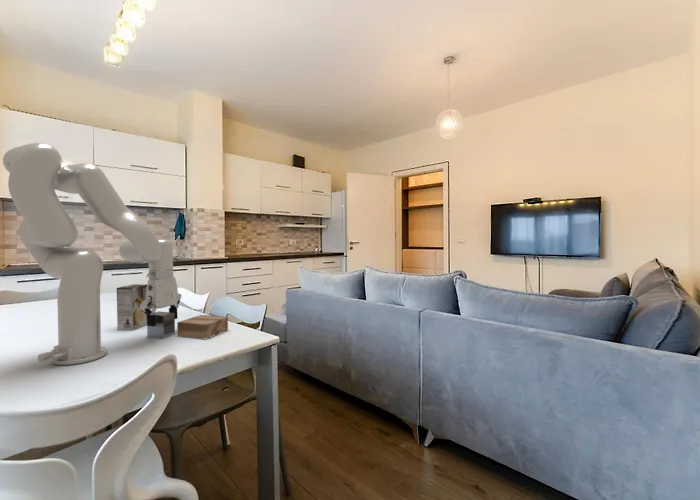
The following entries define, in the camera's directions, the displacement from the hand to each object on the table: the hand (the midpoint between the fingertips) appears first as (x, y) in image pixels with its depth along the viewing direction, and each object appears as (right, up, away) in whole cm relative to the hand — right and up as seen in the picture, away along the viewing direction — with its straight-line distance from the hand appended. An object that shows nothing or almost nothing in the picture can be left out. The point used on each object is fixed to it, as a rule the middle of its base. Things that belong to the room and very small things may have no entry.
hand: (162, 322), depth 119 cm
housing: (0, -5, 0) cm, 5 cm away
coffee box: (-17, -4, +10) cm, 20 cm away
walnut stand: (+13, -5, +3) cm, 14 cm away
